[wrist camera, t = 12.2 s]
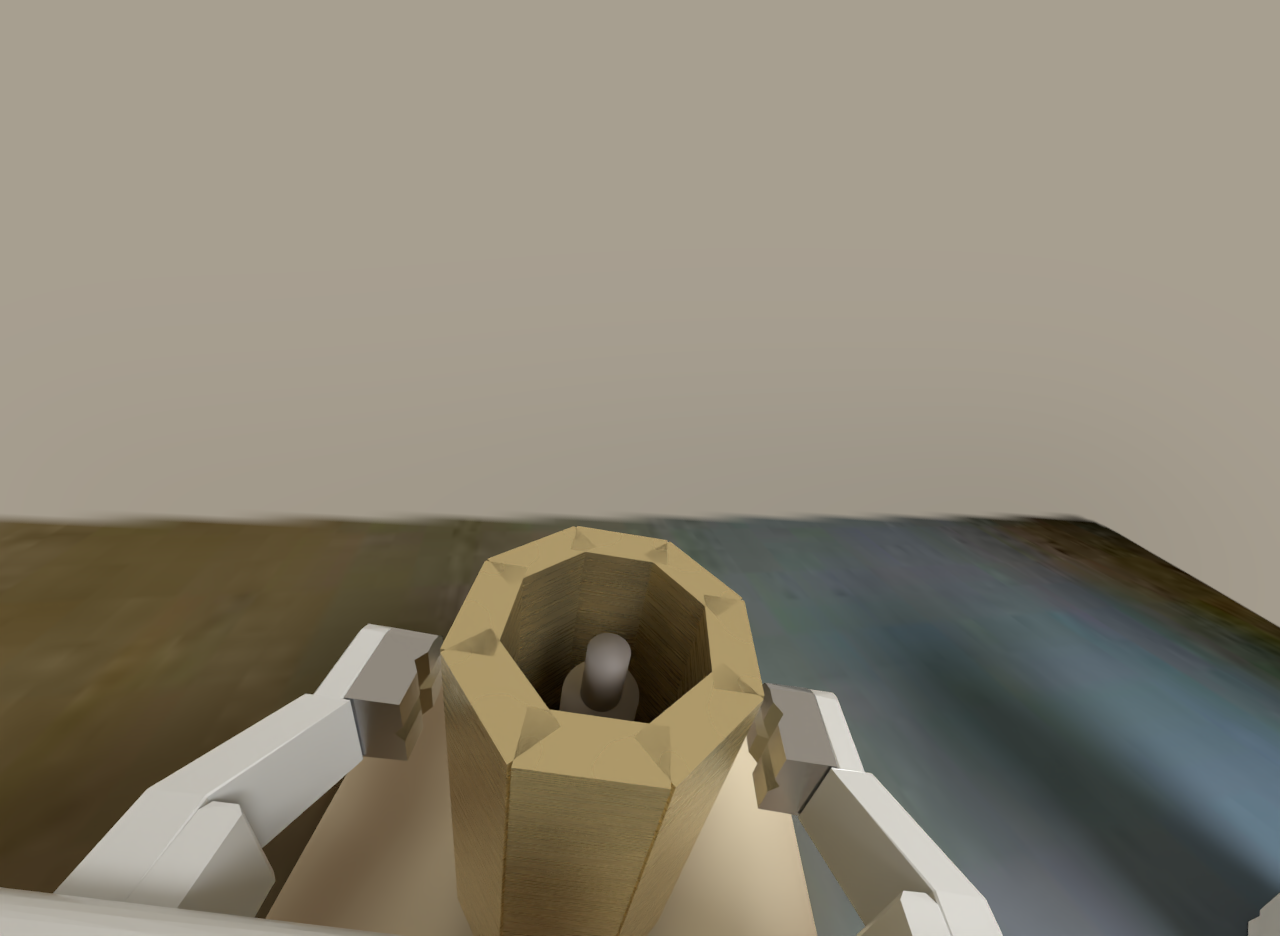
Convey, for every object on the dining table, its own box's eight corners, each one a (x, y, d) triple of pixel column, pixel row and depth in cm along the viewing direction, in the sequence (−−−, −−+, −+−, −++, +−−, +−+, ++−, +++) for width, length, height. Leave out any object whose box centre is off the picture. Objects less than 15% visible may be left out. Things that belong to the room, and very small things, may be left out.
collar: (430, 985, 10) (388, 751, 6) (501, 749, 14) (508, 515, 10) (657, 1010, 10) (788, 804, 6) (658, 771, 14) (733, 550, 10)
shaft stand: (85, 1294, 8) (-644, 1312, 3) (416, 674, 18) (390, 443, 13) (880, 1359, 8) (1474, 1472, 3) (758, 723, 19) (858, 519, 14)
